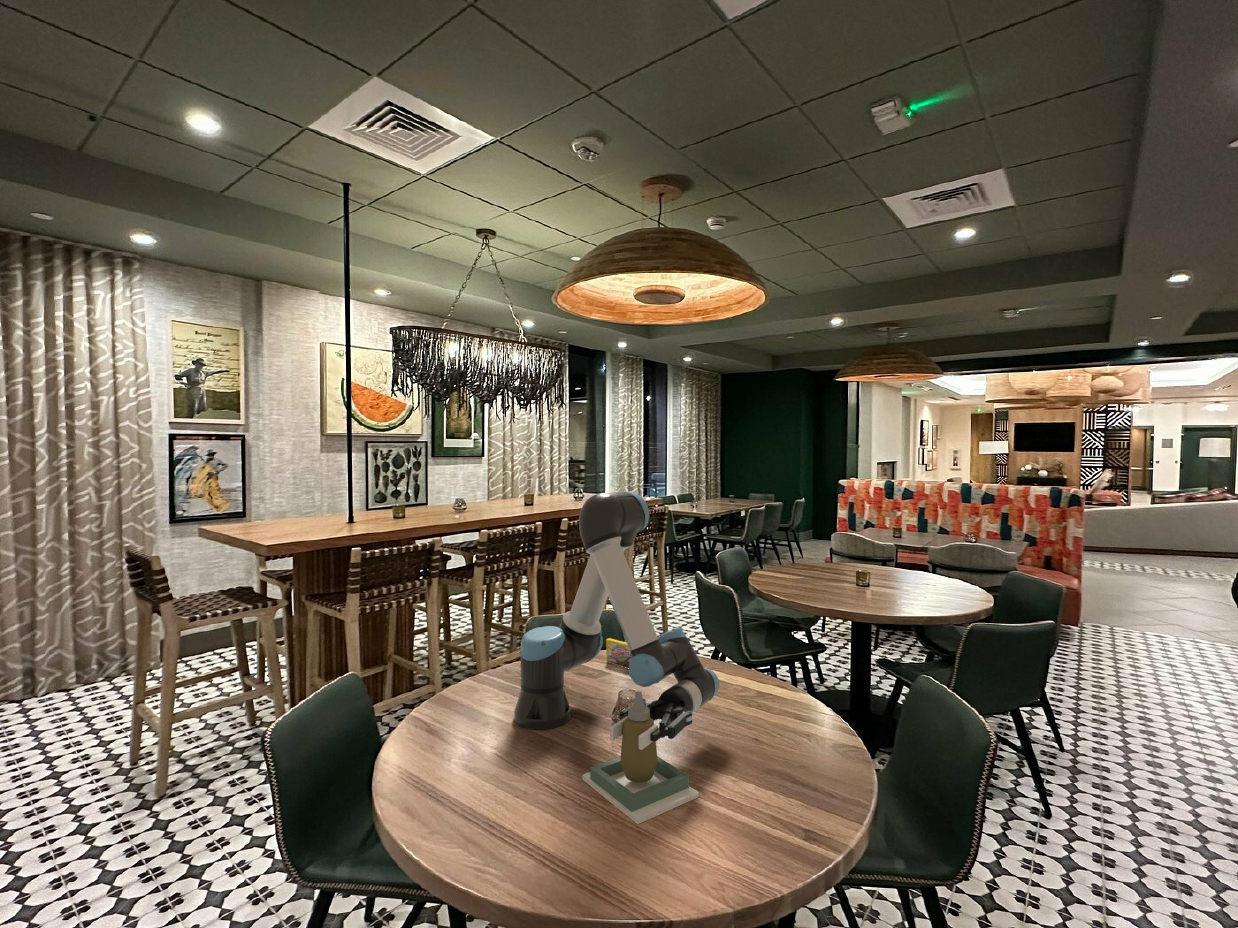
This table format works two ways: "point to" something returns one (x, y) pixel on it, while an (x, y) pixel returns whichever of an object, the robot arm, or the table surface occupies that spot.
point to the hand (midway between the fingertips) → (625, 738)
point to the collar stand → (641, 789)
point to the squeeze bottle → (633, 759)
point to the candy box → (618, 652)
